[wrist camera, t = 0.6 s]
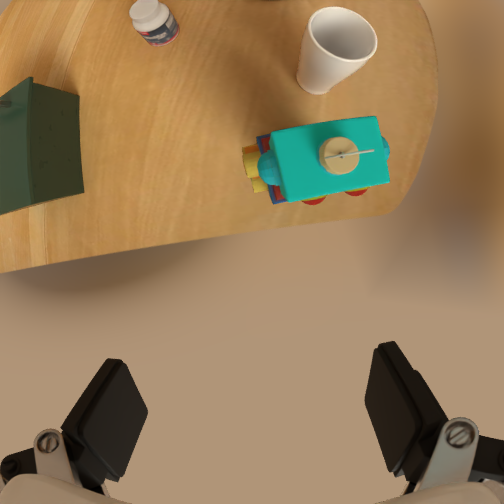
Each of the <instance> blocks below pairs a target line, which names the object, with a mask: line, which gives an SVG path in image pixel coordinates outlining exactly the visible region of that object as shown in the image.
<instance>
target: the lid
mask: <svg viewBox="0 0 504 504" xmlns="http://www.w3.org/2000/svg"><path fill="white" fill-rule="evenodd" d="M32 86H33V77H28V78H27V79H25V80H24V81H22V82H21V83H19V84H18V85H17V86H15V87H14V88H12V89H11V90H9V91H8V92H7V93H5V94H4V95H3V96H1V97H0V215H2V214H4V213H7V212H10V211H14V210H17V209H20V208H23V207H26V206H30V205H33V204H35V199H34V191H33V182H32V170H31V151H30V115H31V97H32Z"/></svg>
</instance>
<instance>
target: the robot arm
mask: <svg viewBox="0 0 504 504" xmlns="http://www.w3.org/2000/svg"><path fill="white" fill-rule="evenodd" d="M365 406H366V408H367V411H368V414H369V417H370V419H371V422H372V425H373V427H374V431H375V433H376V436H377V439H378V442H379V445H380V448H381V451H382V454H383V457H384V459H385V462H386V466H387V469H388V471H389V472H393V473H394V476H395V477H399V476H401V475H405V478H406V481H408V482H407V484H406V486H405V488H404V490H403V492H402V494H401V495H400V497H396V498H393V499H390V500H386V501H383V502H379V503H375V504H504V440H499V439H494V438H489V437H485V436H481V435H479V430H478V427H477V426H476V424H475V423H474V422H473V421H471V420H470V419H467V418H463V417H458V418H453V419H451V420H448V418H447V416H446V415H445V413H444V411H443V410H442V408H441V406H440V405H439V403H438V401H437V400H436V398H435V397H434V395H433V393H432V392H431V390H430V388H429V387H428V385H427V384H426V382H425V380H424V379H423V378H422V376H421V374H420V373H419V372H418V371H416V370H413V368H412V367H411V365H410V363H409V362H408V360H407V359H406V357H405V356H404V354H403V353H402V351H401V350H400V348H399V347H398V345H397V344H396V342H395V341H391V342H386V343H381V344H379V345H378V348H375V349H374V352H373V359H372V364H371V369H370V375H369V380H368V385H367V389H366V394H365ZM147 414H148V410H147V407H146V405H145V403H144V401H143V399H142V397H141V395H140V393H139V391H138V389H137V387H136V385H135V382H134V380H133V378H132V376H131V374H130V372H129V369H128V367H127V365H126V364H125V363H123V361H122V360H120V359H110V358H108V359H106V361H105V362H104V363H103V365H102V366H101V368H100V369H99V370H98V372H97V373H96V375H95V376H94V378H93V379H92V380H91V382H90V383H89V385H88V387H87V388H86V389H85V391H84V392H83V394H82V395H81V397H80V398H79V400H78V401H77V403H76V404H75V406H74V407H73V409H72V410H71V412H70V413H69V415H68V416H67V418H66V419H65V421H64V423H63V424H62V426H61V429H62V430H63V431H62V433H60V432H59V431H58V430H55V429H46V430H43V431H42V432H40V433H39V434H38V435H37V436H36V438H35V440H34V447H33V448H30V449H27V450H24V451H21V452H18V453H14V454H11V455H8V456H7V457H5V458H4V459H3V461H2V462H1V466H0V504H130V503H127V502H123V501H120V500H117V499H114V498H111V497H110V495H109V493H108V491H107V488H106V486H105V484H104V481H105V478H106V479H109V480H112V481H115V482H118V481H119V478H120V477H122V476H123V475H124V474H125V471H126V468H127V466H128V463H129V460H130V458H131V455H132V452H133V450H134V448H135V445H136V443H137V440H138V438H139V435H140V432H141V430H142V427H143V425H144V423H145V420H146V418H147Z"/></svg>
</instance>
